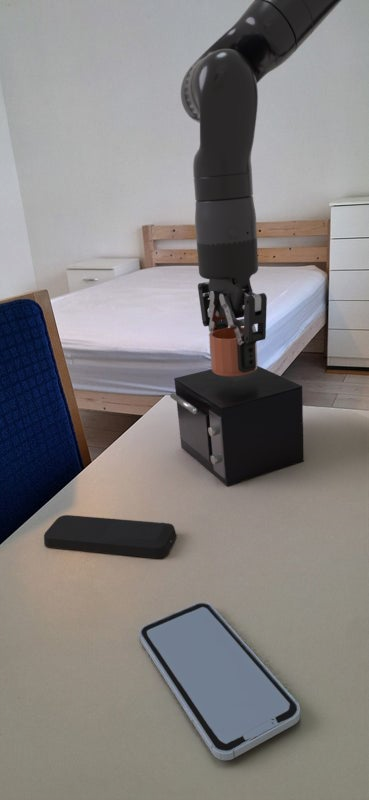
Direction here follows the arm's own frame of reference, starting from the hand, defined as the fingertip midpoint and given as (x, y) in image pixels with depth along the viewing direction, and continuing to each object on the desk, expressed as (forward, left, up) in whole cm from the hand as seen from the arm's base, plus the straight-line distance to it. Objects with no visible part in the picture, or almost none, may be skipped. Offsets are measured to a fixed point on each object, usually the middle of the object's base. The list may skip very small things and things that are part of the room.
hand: (234, 364), depth 80 cm
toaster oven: (0, 0, -14) cm, 14 cm away
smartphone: (+22, +33, -14) cm, 42 cm away
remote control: (+23, +10, -14) cm, 29 cm away
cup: (0, 0, -1) cm, 1 cm away
